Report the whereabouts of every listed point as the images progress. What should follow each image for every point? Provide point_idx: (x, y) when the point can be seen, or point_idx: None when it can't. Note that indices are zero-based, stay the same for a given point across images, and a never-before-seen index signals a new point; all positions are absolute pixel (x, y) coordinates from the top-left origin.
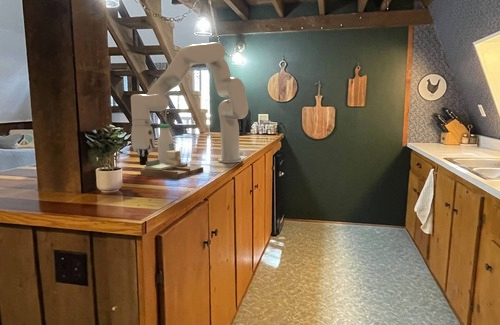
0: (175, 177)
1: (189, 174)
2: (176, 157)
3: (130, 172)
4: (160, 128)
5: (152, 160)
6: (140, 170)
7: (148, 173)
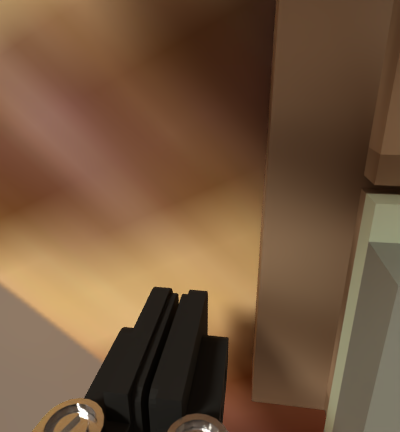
0: None
1: None
2: None
3: (65, 304)
4: None
5: (393, 422)
6: (253, 400)
7: None
